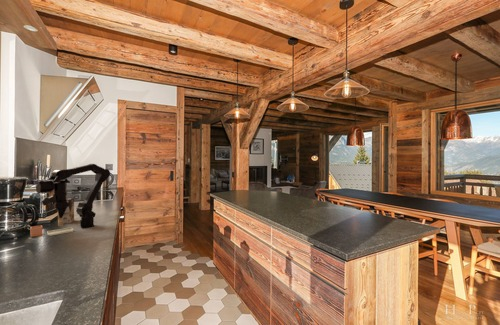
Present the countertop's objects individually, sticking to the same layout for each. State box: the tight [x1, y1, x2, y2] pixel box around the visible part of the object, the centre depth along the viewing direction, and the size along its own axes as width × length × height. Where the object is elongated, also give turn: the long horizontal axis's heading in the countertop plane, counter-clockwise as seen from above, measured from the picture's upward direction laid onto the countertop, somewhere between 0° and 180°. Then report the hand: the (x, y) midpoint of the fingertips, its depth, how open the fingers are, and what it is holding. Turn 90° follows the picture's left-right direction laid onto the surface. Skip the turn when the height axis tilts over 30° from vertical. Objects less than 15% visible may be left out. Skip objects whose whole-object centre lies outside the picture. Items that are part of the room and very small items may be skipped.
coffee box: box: [63, 197, 75, 224], centre depth 163 cm, size 9×6×16 cm
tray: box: [46, 227, 75, 237], centre depth 140 cm, size 12×9×1 cm
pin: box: [57, 212, 64, 227], centre depth 140 cm, size 2×2×9 cm
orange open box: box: [29, 225, 44, 238], centre depth 135 cm, size 5×5×5 cm
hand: (60, 217), depth 140 cm, fingers closed on pin, 2 cm apart
